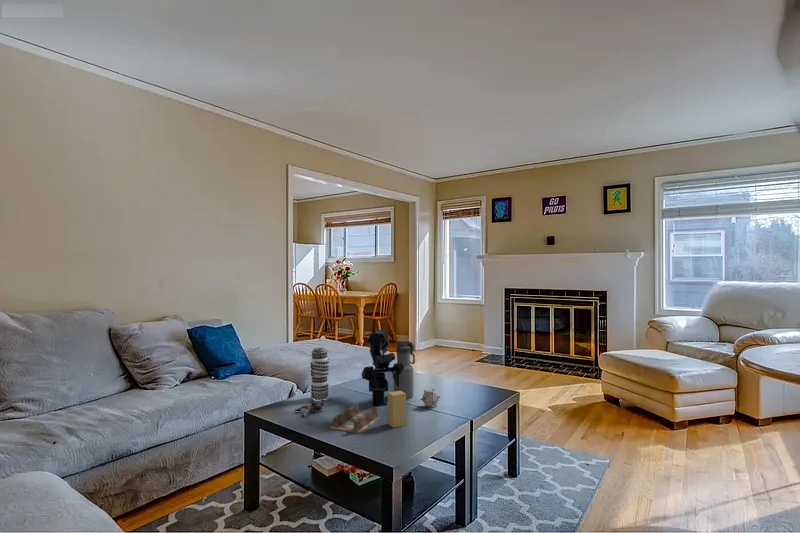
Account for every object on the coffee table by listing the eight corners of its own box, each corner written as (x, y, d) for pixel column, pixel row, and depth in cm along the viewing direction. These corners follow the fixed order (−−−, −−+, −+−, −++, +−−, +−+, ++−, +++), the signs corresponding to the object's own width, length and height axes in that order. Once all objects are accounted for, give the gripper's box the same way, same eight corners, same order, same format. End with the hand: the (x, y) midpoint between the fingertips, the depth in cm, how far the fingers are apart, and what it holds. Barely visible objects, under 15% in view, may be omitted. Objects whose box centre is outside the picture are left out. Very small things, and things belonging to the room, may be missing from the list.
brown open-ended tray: (353, 414, 191) (353, 404, 191) (379, 418, 186) (379, 407, 186) (331, 428, 175) (331, 417, 175) (359, 433, 170) (359, 421, 170)
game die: (433, 415, 200) (438, 402, 194) (416, 408, 201) (421, 394, 196) (438, 401, 207) (443, 388, 201) (422, 394, 209) (426, 381, 203)
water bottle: (407, 392, 224) (407, 338, 224) (417, 397, 216) (417, 341, 216) (390, 395, 219) (390, 340, 219) (400, 400, 211) (400, 343, 211)
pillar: (387, 423, 180) (387, 392, 180) (400, 421, 183) (400, 390, 183) (393, 427, 176) (392, 395, 176) (406, 425, 178) (405, 393, 178)
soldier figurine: (294, 401, 188) (318, 387, 194) (294, 411, 196) (318, 397, 202) (303, 416, 184) (327, 401, 190) (303, 425, 192) (326, 410, 198)
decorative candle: (333, 397, 216) (332, 347, 216) (320, 402, 208) (320, 350, 208) (319, 394, 221) (319, 346, 221) (306, 399, 213) (306, 349, 213)
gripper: (363, 348, 187) (373, 380, 177) (402, 344, 195) (414, 374, 185) (357, 363, 194) (366, 394, 184) (394, 359, 202) (405, 388, 192)
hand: (388, 387), depth 186 cm, fingers open, 9 cm apart
